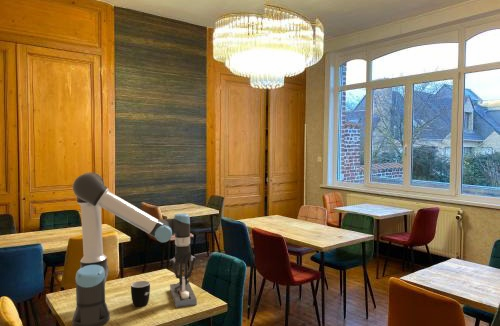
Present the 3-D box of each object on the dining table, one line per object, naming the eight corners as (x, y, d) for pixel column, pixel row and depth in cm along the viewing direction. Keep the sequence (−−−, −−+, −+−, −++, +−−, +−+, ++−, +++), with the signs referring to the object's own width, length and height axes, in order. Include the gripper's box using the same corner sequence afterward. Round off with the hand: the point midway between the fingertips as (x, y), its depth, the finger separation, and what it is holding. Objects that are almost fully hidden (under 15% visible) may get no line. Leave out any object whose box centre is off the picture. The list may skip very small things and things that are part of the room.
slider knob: (183, 284, 200) (182, 278, 200) (182, 282, 203) (182, 276, 203) (186, 283, 201) (186, 278, 201) (185, 281, 204) (185, 276, 204)
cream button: (181, 300, 181) (181, 294, 181) (180, 297, 184) (180, 291, 184) (189, 299, 182) (189, 293, 182) (188, 296, 186) (188, 290, 186)
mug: (145, 308, 178) (145, 287, 177) (127, 307, 179) (127, 286, 179) (155, 298, 189) (155, 279, 189) (138, 297, 191) (138, 278, 190)
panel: (175, 307, 178) (175, 298, 178) (170, 289, 201) (170, 281, 201) (196, 304, 182) (196, 295, 181) (188, 287, 204) (188, 279, 204)
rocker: (175, 290, 192) (174, 288, 191) (174, 287, 195) (173, 285, 195) (189, 281, 194) (188, 279, 194) (188, 279, 198) (187, 277, 197)
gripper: (170, 247, 182) (171, 295, 183) (196, 245, 187) (197, 292, 187) (168, 244, 190) (169, 290, 190) (194, 241, 194) (195, 286, 195)
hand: (183, 291), depth 189 cm, fingers closed
